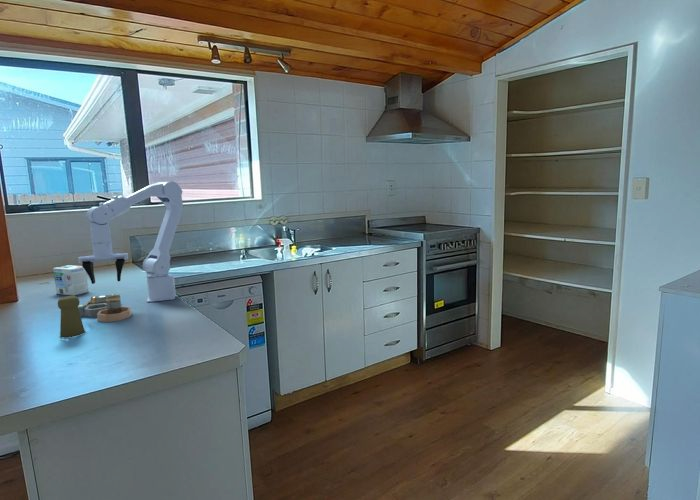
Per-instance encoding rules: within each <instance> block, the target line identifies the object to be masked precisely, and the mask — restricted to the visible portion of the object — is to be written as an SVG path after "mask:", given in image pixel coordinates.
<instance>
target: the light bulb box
mask: <svg viewBox="0 0 700 500" xmlns="http://www.w3.org/2000/svg"><path fill="white" fill-rule="evenodd" d="M52 271H53V277H54V287H55V294H58V295H65V296H78V295H83V294H85V293H89V292H90V291H89V283H88V274H87V272H86V271H85V269H84V268H83V267H82V265H71V264H67V265H63V266H57V267H53V270H52Z"/></svg>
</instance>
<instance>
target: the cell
mask: <svg viewBox="0 0 700 500" xmlns="http://www.w3.org/2000/svg"><path fill="white" fill-rule="evenodd" d="M109 295H110V296H107V297H106V303H107V312H108V314H117V313H121V312H122V309H121V306H122V303H121V295H120V294H116V293H111V294H109Z"/></svg>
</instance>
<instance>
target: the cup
mask: <svg viewBox="0 0 700 500" xmlns="http://www.w3.org/2000/svg"><path fill="white" fill-rule="evenodd" d="M121 309H122V312H121V313H117V314H108V312H107V309H104V310H101V311H99V312H98V313H97V321H98V322H103V323H110V322H118V321H122V320H125V319H129V318H131V316H132V314H133V313H132V307H130V306H124V305H123V306H122V305H121Z"/></svg>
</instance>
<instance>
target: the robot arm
mask: <svg viewBox="0 0 700 500" xmlns="http://www.w3.org/2000/svg"><path fill="white" fill-rule="evenodd" d="M182 195H183V190H182V188H181V186H180V185H179V184H178V182H176V181H173V180H169V181H158V182H157V181H156V183H151V184H149V185H147V186H145V187H143V188H141V189H139V190H137V191H135V192H133V193H131V194H130V195H127V196H124V195H119V196H118V195H113V196H112V199H110V200H108V201H106V202H100V203H98V205H99V206H92V207H90V208H89V209H88V210H87V212H86V215H85V219H86V220H87V222H89V229H90V238H91V245H92V246H91V247H92V248H91V249H92V255H86V256H85V255H84V256H79V257H77V260H78V261H77V262H78V264H81V266H82V267H83V268H84V269H85V271H86V273H87V276H88V278H89V279H90V282H91V284H92V285H95V283H96V278H95V277H96V276H95V271H94V262H108V261H109V262H110V261H114V264H115V268H116V280H117V282H121V279H122V277H121V276H122V271H123V268H124V265H125V261H126V260H129V253H127V252H126V253H123V252H122V253H114V252H113V251H114V250H113V244H112V235H111V229H110V222H111V221H112V220H114V219H115V218H117V217H119V216H121V215H123V214H125V213H127V212H129V211H131V210H130V209H131V207H132V206H133V205H136V204H138V203H139V202H140V203H141V202H142V201H145V200H147V199H149V198H151V197H156V198H157V199H158V200H160V201H161V202H162V204H163V205H164V206H165V208H166V210H165V213H164V216H163V220H162V222H161V224H160V227H159V228H160V229H159V231H158V234H157V237H156V240H155V243H154V247H153V248H152V249H151V250H150V252H148V255H147V257H146V258H145V259H144V260H143V262H142V269H143V271H144V272H145V273H146V285H147V295H148V297H147V299H146V302H147V303H153V302H160V301H170V300H175V299H176V294H177V291H176V286H175V276H174V274H168V273H169V271H170V270H171V263H170V262H171V255H170V250H171V247H172V244H173V240H174V237H175V235H176V234H175V233H176V231H177V228H178V225H179V222H180V219H181V216H182V212H183V209H184V205H183V203H184V202H183V196H182Z"/></svg>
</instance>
